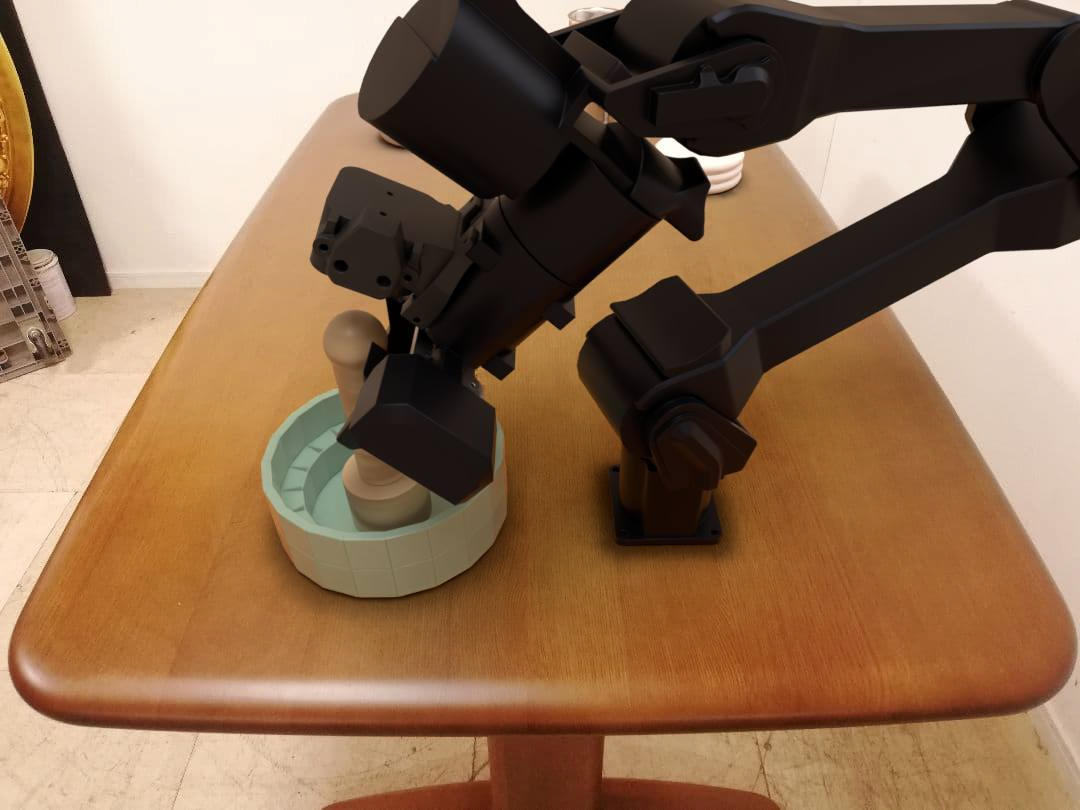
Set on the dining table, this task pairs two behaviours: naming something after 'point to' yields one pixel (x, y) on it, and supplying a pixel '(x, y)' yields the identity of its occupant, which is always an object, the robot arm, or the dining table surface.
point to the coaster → (708, 164)
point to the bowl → (327, 526)
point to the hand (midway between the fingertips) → (349, 424)
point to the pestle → (367, 481)
